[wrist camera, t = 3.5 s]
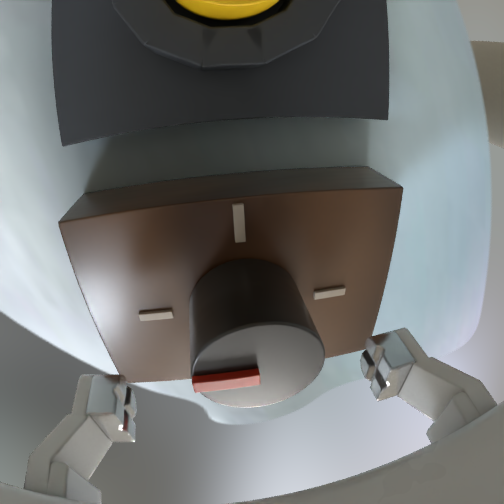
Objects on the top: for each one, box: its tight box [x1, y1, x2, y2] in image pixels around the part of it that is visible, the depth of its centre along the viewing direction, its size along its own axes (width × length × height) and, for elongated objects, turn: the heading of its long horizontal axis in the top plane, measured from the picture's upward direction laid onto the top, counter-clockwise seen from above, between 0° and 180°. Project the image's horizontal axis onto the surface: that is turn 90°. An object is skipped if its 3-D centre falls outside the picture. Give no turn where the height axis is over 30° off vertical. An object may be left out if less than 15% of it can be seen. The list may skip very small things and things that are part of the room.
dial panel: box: [58, 167, 403, 383], centre depth 14 cm, size 13×9×3 cm
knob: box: [189, 259, 325, 408], centre depth 11 cm, size 4×4×4 cm
